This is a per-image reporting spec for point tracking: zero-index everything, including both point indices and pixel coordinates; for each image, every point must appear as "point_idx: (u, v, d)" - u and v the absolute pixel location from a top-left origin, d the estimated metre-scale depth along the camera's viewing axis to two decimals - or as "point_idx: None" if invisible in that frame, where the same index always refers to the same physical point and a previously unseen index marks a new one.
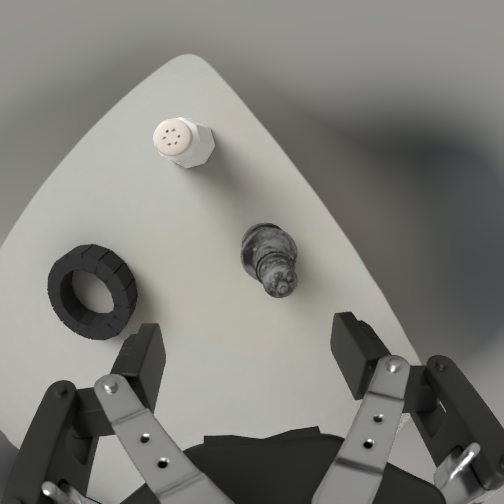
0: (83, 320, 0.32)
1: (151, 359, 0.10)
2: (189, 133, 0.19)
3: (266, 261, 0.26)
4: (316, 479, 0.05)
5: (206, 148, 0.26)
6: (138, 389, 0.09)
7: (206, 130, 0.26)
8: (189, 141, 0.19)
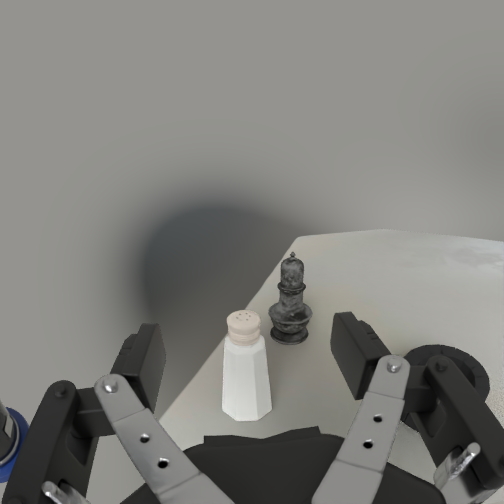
0: (466, 371, 0.24)
1: (151, 359, 0.10)
2: (234, 312, 0.25)
3: (289, 286, 0.36)
4: (316, 479, 0.05)
5: None
6: (138, 389, 0.09)
7: None
8: None
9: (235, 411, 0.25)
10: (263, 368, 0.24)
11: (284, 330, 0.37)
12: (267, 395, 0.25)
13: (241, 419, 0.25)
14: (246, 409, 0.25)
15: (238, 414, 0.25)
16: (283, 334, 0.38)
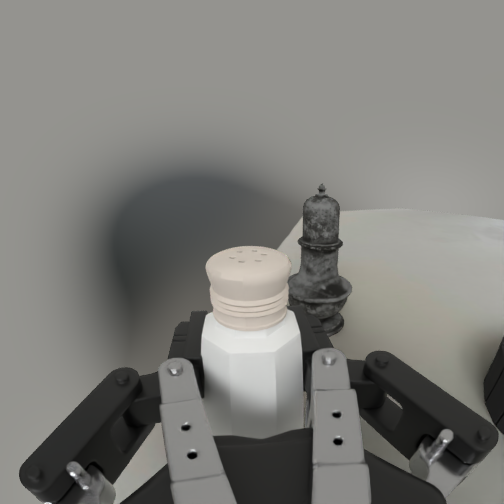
0: None
1: None
2: None
3: (319, 238, 0.22)
4: None
5: None
6: (199, 372, 0.10)
7: None
8: None
9: None
10: (296, 385, 0.10)
11: None
12: None
13: None
14: None
15: None
16: None
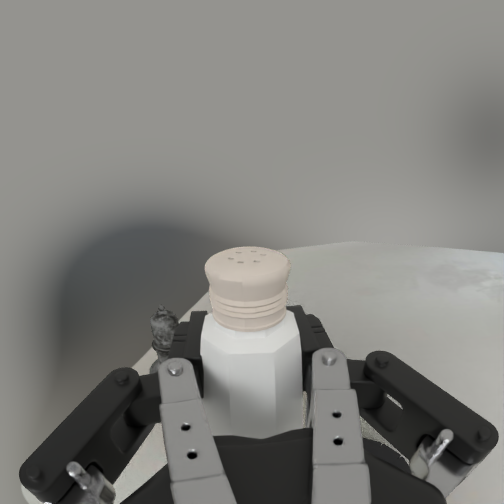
0: None
1: None
2: None
3: (160, 345, 0.27)
4: None
5: None
6: (198, 372, 0.10)
7: None
8: None
9: None
10: (295, 386, 0.10)
11: None
12: None
13: None
14: None
15: None
16: None
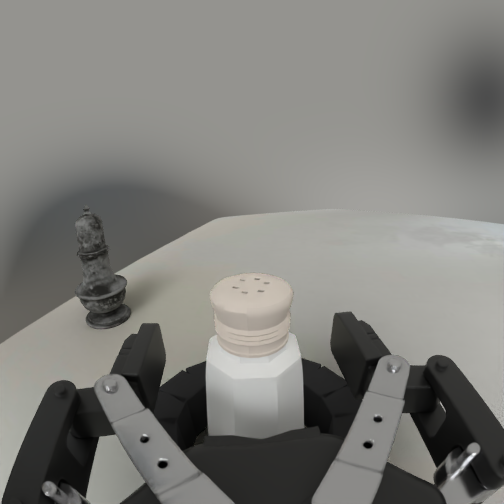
0: (327, 420, 0.13)
1: (151, 359, 0.10)
2: (228, 277, 0.11)
3: (82, 248, 0.24)
4: (316, 479, 0.05)
5: None
6: (138, 389, 0.09)
7: None
8: None
9: None
10: (297, 404, 0.10)
11: (87, 308, 0.25)
12: None
13: None
14: None
15: None
16: (96, 315, 0.27)
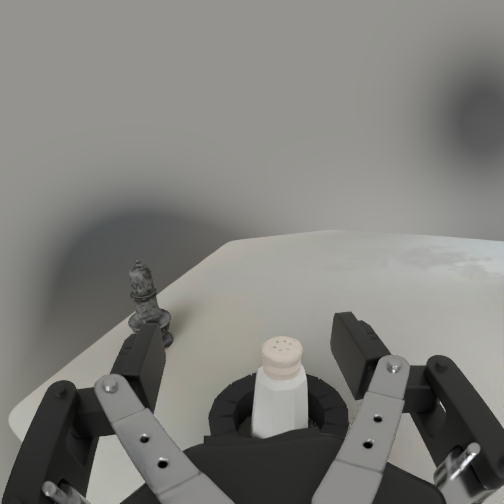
0: (321, 412, 0.22)
1: (151, 359, 0.10)
2: (269, 339, 0.20)
3: (136, 293, 0.33)
4: (316, 479, 0.05)
5: None
6: (138, 389, 0.09)
7: None
8: (276, 337, 0.20)
9: None
10: (304, 402, 0.19)
11: None
12: None
13: None
14: None
15: None
16: None
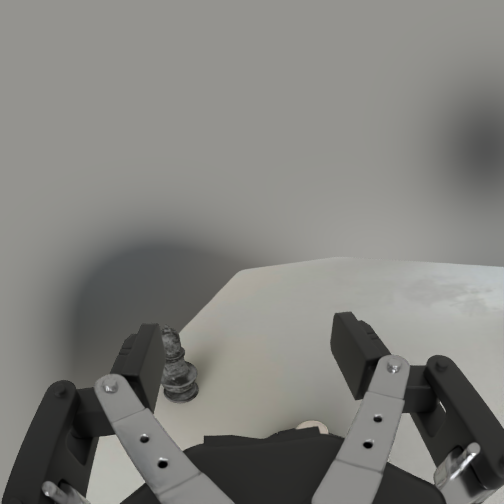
0: None
1: (151, 359, 0.10)
2: (300, 424, 0.21)
3: None
4: (316, 479, 0.05)
5: None
6: (138, 389, 0.09)
7: None
8: (306, 421, 0.22)
9: None
10: None
11: (169, 390, 0.36)
12: None
13: None
14: None
15: None
16: (172, 392, 0.38)
